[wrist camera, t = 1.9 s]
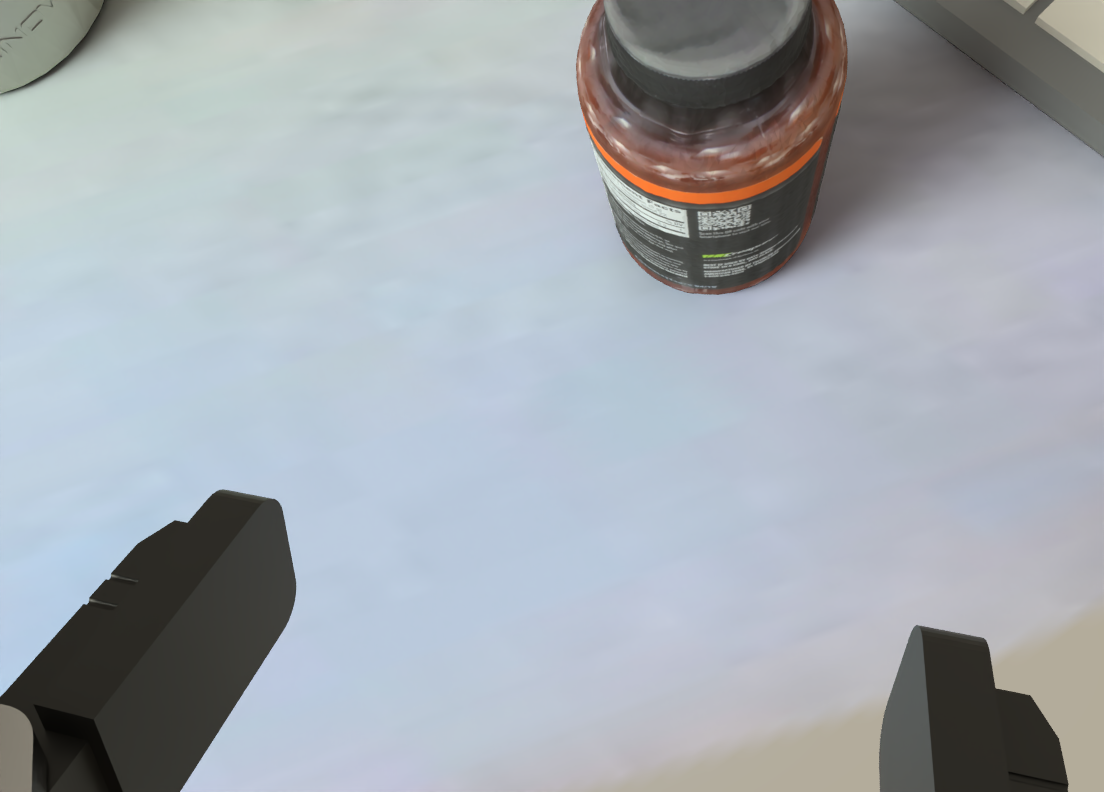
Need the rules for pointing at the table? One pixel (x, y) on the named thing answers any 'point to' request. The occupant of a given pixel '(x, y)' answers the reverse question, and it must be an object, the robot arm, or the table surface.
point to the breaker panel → (1033, 52)
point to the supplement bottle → (712, 129)
